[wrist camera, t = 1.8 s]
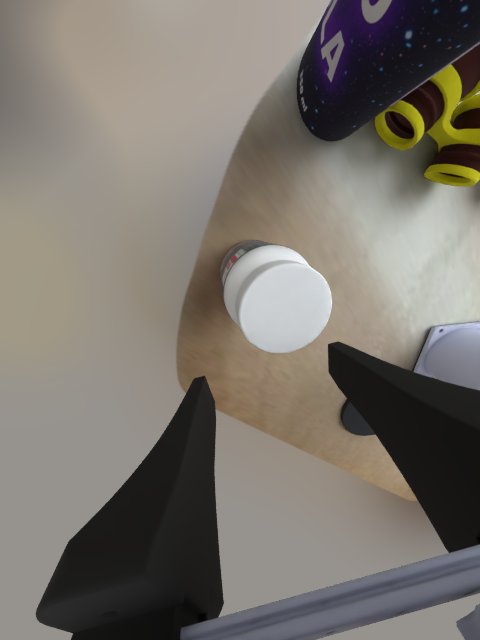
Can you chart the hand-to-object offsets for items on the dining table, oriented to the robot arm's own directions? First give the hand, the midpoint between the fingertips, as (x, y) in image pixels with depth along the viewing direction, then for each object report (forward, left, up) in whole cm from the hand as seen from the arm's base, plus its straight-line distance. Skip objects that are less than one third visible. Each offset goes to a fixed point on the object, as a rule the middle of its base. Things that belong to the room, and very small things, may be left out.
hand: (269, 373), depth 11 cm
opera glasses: (-15, -14, -10) cm, 22 cm away
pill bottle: (-1, -4, -10) cm, 11 cm away
